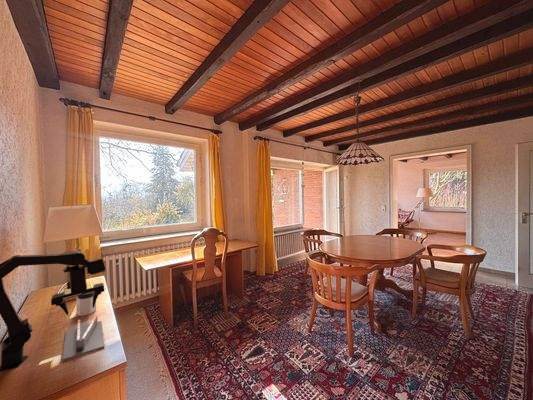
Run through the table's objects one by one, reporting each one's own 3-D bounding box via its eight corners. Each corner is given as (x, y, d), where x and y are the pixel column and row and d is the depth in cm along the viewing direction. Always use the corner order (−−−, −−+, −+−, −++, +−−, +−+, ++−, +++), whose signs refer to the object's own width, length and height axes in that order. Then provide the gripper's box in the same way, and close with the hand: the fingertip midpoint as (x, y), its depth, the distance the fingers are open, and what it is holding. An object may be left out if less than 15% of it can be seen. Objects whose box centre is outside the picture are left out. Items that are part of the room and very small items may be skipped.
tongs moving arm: (84, 346, 98) (84, 338, 98) (81, 347, 98) (81, 338, 98) (97, 323, 117) (97, 315, 117) (95, 323, 117) (95, 316, 117)
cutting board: (104, 347, 100) (104, 345, 100) (62, 361, 91) (62, 359, 91) (101, 322, 120) (101, 320, 120) (66, 332, 111) (66, 330, 111)
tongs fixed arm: (83, 350, 96) (83, 340, 96) (75, 352, 95) (76, 342, 95) (83, 326, 114) (84, 317, 114) (77, 327, 113) (77, 319, 113)
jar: (74, 313, 129) (74, 292, 129) (90, 307, 136) (91, 287, 136) (81, 317, 125) (81, 295, 125) (98, 311, 132) (98, 290, 132)
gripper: (101, 268, 117) (104, 297, 117) (51, 279, 105) (55, 311, 106) (103, 274, 108) (105, 306, 109) (49, 287, 96) (53, 322, 97)
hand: (80, 310), depth 105 cm, fingers open, 9 cm apart
